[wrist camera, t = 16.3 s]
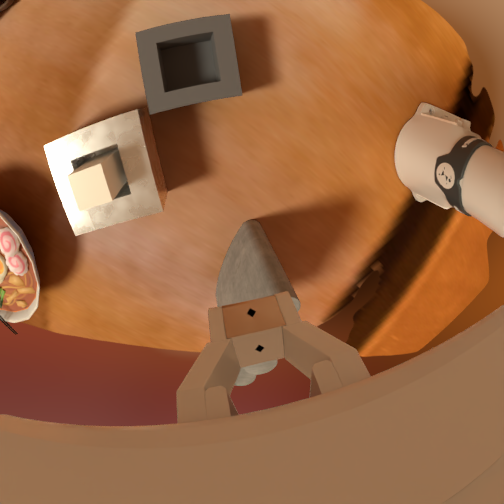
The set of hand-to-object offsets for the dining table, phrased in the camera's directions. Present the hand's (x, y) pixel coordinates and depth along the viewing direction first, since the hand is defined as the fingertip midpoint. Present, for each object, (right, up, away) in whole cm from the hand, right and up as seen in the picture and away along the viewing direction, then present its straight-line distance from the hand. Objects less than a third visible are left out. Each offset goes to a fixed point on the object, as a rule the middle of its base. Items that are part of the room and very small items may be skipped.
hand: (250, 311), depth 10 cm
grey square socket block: (-8, +25, +18) cm, 32 cm away
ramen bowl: (-42, +4, +23) cm, 48 cm away
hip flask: (-3, +1, +34) cm, 34 cm away
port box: (-18, +14, +22) cm, 32 cm away
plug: (-18, +14, +21) cm, 31 cm away
